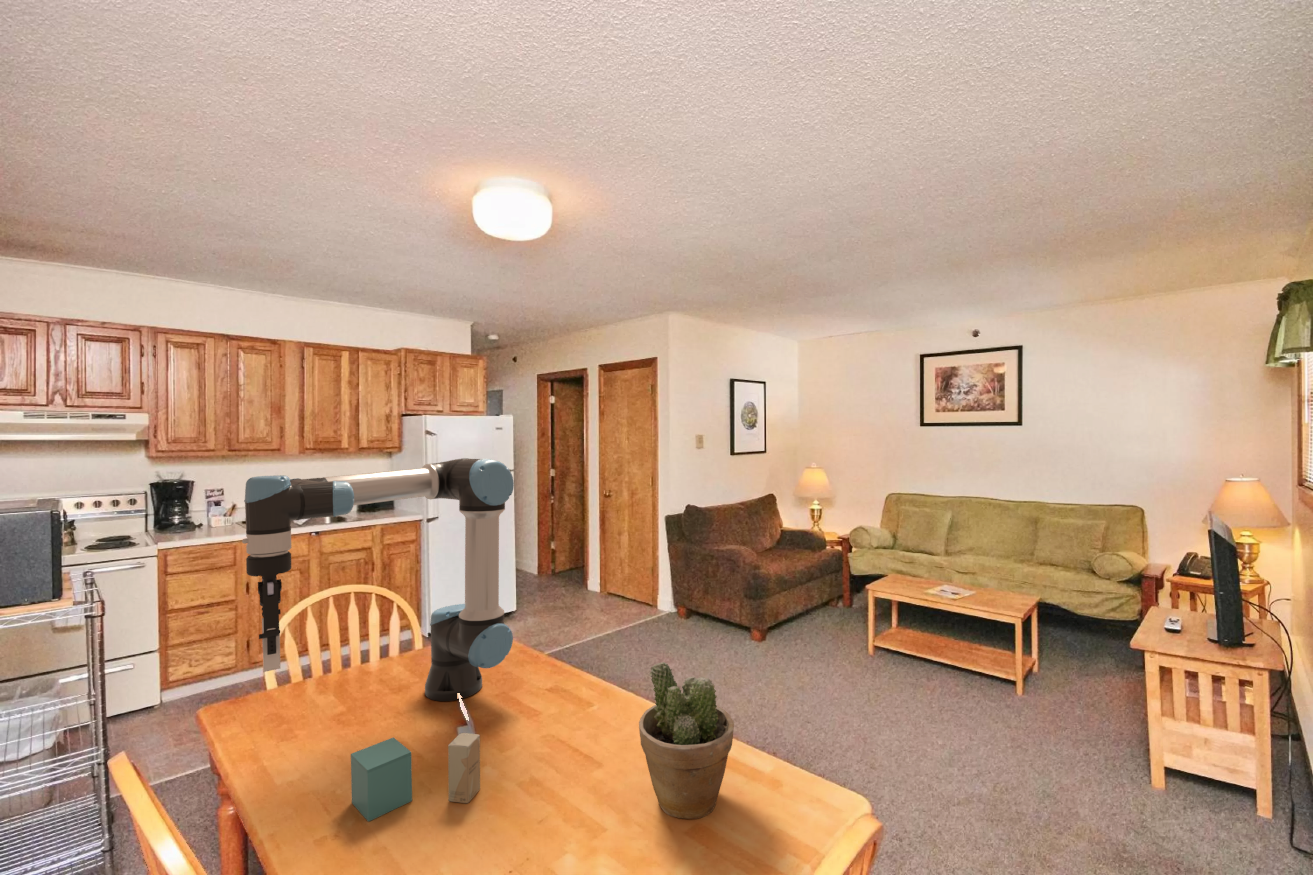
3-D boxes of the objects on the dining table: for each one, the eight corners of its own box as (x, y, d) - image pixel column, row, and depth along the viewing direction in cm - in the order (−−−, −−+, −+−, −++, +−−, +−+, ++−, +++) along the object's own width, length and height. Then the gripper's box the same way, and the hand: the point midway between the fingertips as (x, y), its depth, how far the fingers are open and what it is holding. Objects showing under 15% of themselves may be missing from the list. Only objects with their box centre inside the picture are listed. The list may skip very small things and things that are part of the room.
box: (467, 804, 112) (467, 747, 112) (447, 801, 113) (446, 745, 113) (481, 787, 118) (480, 733, 117) (461, 785, 118) (461, 731, 118)
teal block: (394, 783, 119) (393, 737, 119) (412, 800, 114) (411, 751, 114) (351, 802, 113) (350, 753, 113) (368, 821, 108) (367, 770, 108)
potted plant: (743, 782, 118) (742, 660, 118) (723, 843, 101) (721, 700, 101) (657, 766, 124) (656, 650, 124) (625, 821, 107) (623, 686, 107)
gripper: (246, 545, 125) (248, 643, 125) (245, 567, 104) (247, 685, 105) (288, 541, 129) (290, 636, 129) (294, 561, 109) (296, 674, 109)
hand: (271, 658), depth 117 cm, fingers open, 13 cm apart
